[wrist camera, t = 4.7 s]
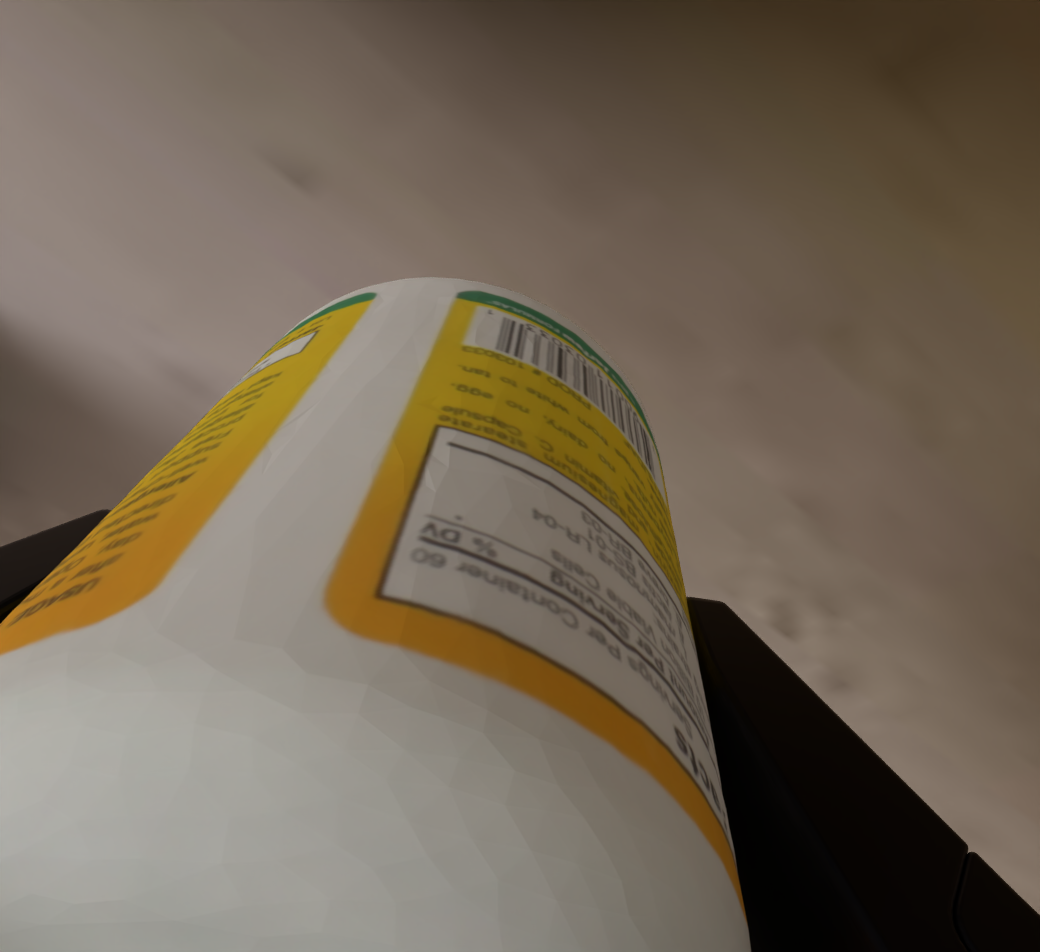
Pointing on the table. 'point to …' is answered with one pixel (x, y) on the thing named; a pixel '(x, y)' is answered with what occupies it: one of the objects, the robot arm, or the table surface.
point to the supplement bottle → (375, 665)
